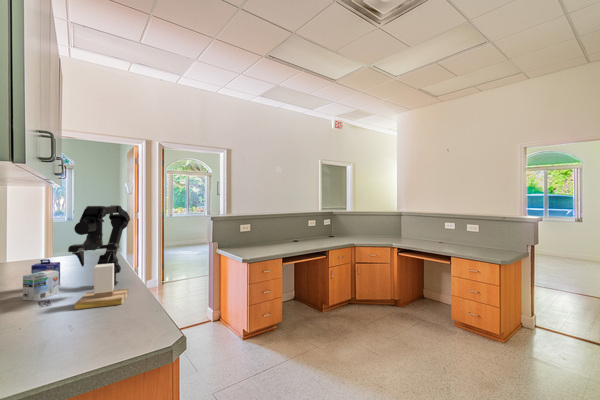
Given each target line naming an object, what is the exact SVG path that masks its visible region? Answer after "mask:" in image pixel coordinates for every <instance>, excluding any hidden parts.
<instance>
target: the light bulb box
mask: <svg viewBox="0 0 600 400" xmlns="http://www.w3.org/2000/svg"><path fill="white" fill-rule="evenodd" d="M59 287H60V286H59V271H52V270H46V271H42V272H38V273H33V274H31V273H29V274H25V275H22V301H31V302H34V301H38V300H42V299H45V298H48V297H51V296H52V297H53V296H55V295H58V294H59Z"/></svg>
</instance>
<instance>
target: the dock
mask: <svg viewBox="0 0 600 400" xmlns="http://www.w3.org/2000/svg"><path fill="white" fill-rule="evenodd" d="M128 295H129V288H121V289H120V288H119V289H114V293H113V296H110V297H102V298H95V299H94V291H92V292H86V293H84V294H83V296H81V298H79V299H78V300H77V301H76V302H75V303H74V310H81V309H92V308H101V307H111V306H119V305H123V303H124V301H126V299H127V297H128Z"/></svg>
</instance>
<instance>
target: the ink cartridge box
mask: <svg viewBox="0 0 600 400" xmlns="http://www.w3.org/2000/svg"><path fill="white" fill-rule="evenodd" d="M39 260H40V262H38V263H34V264H32V265H31V270H30V271H31V272H30V274H33V273H38V272H42V271H46V270H52V271H59V287H60V286H61V262H60V261H56V262H52V261H51V260H50V259H39Z"/></svg>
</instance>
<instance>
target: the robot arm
mask: <svg viewBox="0 0 600 400" xmlns="http://www.w3.org/2000/svg"><path fill="white" fill-rule="evenodd" d="M107 215H108V219H109V220H110V225H111V227H112V229H111V233H110V236H109V239H108V242H107V244H104V243H103V236H104V235H103V234H104V233H103V223H104V222H105V220H104V219H103V218H105V217H106V216H107ZM130 221H131V217H130V215H129V212H128V211H126V210H124V209H123V207H122V206H121V205H119V204H118V205H117V204H116V205H115V204H113V205H108V206H104V205H87V206H85V208H84V210H83V212H82V215H81V217H80V219H79V222H76V224H75V226H74V232H75V233H76V234H77V235H81V236H83V235H86V238H85V240H84V241H83V243H78V244H72V245H69V246H68V249H67V252H68V253H71V254H72V255H75V256H76V257H77V259H78V261H79V264H80V265H81V267H84V266H85V252H87V251H97V250H105V249H106V250H105V252H104V254H100V255H99V258H98V261H97V263H96V265H99V264H111V263H114V287H115V286H116V285H117V284H118V283H119V281H117V274H119V273H120V272H121V271H122V267H121V265H120V263H119V258H118V257H117V253H118V249H120V243H121V241H120V240H121V238H122V234H123V230H124V229H125V228H127V227H128V225H129V222H130Z"/></svg>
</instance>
